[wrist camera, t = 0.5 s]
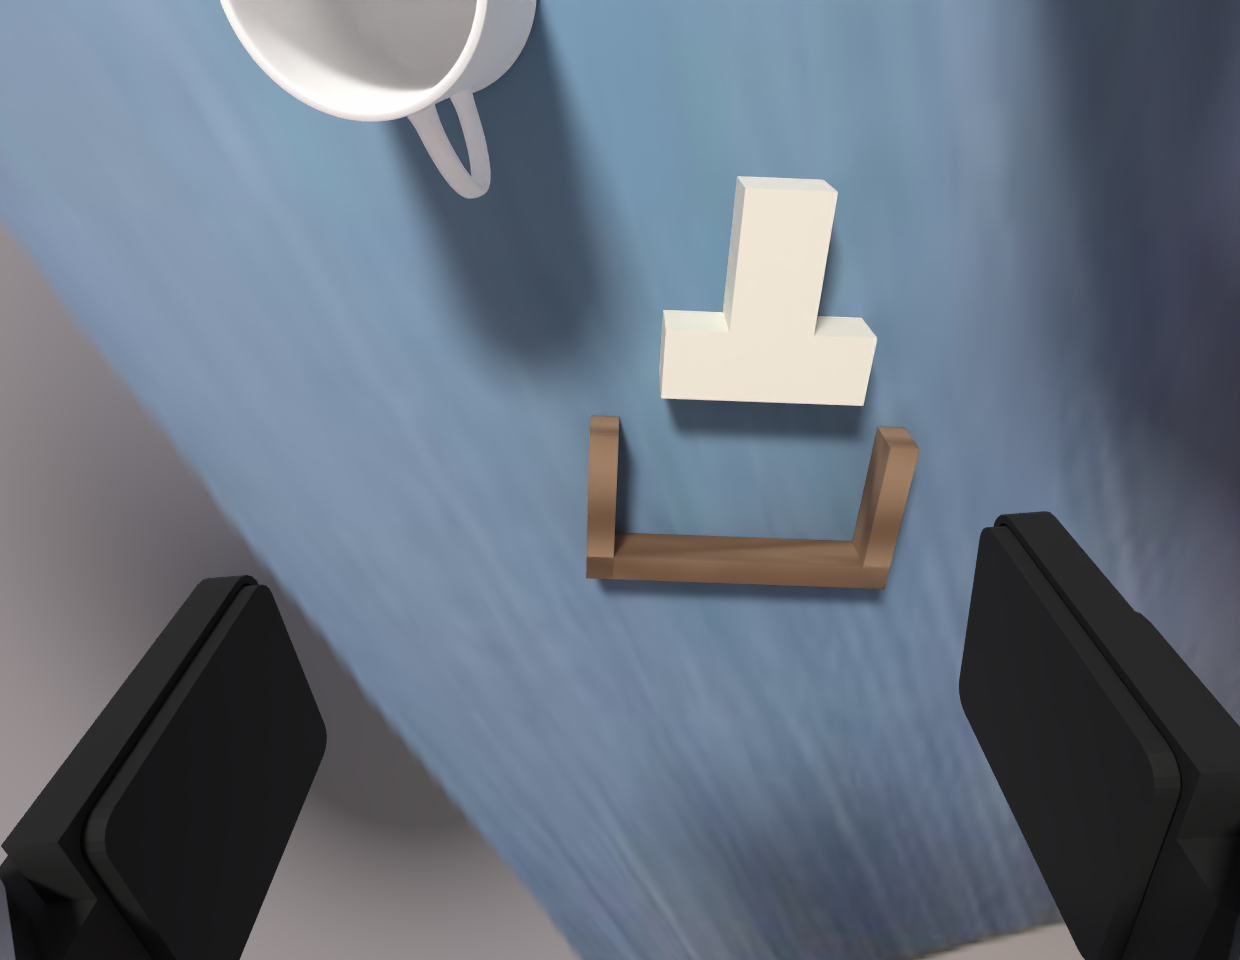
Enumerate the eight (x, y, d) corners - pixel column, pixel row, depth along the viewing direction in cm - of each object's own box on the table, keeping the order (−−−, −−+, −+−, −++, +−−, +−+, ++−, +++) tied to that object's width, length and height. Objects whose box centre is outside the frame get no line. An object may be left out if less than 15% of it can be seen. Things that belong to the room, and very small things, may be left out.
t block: (672, 173, 37) (675, 185, 35) (887, 182, 37) (907, 195, 35) (659, 374, 42) (661, 398, 40) (848, 381, 42) (863, 405, 40)
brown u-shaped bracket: (591, 415, 43) (589, 436, 41) (905, 427, 44) (919, 449, 42) (588, 552, 48) (586, 578, 46) (872, 563, 48) (884, 588, 46)
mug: (578, 149, 37) (558, 202, 26) (401, 191, 38) (315, 258, 27) (503, -172, 31) (441, -265, 21) (297, -112, 32) (139, -172, 22)
